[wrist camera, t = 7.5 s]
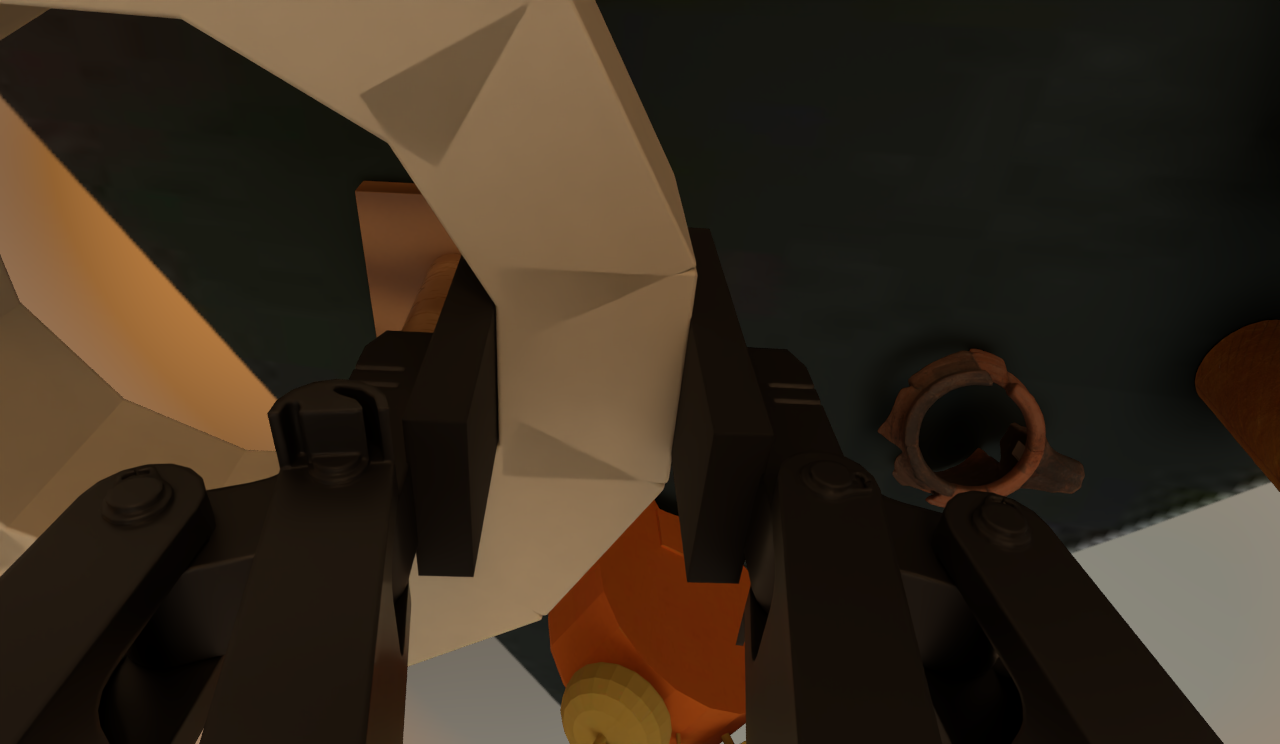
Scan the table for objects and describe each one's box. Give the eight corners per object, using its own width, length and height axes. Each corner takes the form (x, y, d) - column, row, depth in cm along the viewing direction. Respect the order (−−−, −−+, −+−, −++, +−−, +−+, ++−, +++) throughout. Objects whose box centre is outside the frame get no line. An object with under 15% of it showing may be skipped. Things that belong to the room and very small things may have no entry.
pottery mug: (846, 469, 49) (870, 499, 41) (885, 329, 48) (918, 331, 40) (1032, 518, 48) (1095, 558, 40) (1076, 375, 47) (1149, 387, 39)
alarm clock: (551, 520, 50) (525, 843, 33) (601, 461, 47) (599, 779, 31) (708, 590, 54) (755, 905, 38) (762, 539, 52) (837, 854, 35)
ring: (-179, -630, 9) (-672, -950, 5) (833, 149, 14) (905, 232, 11) (-253, 354, 16) (-487, 484, 12) (446, 616, 21) (417, 756, 18)
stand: (363, 180, 37) (256, 314, 25) (547, 189, 37) (523, 323, 26) (385, 337, 42) (304, 507, 30) (547, 343, 42) (527, 512, 31)
